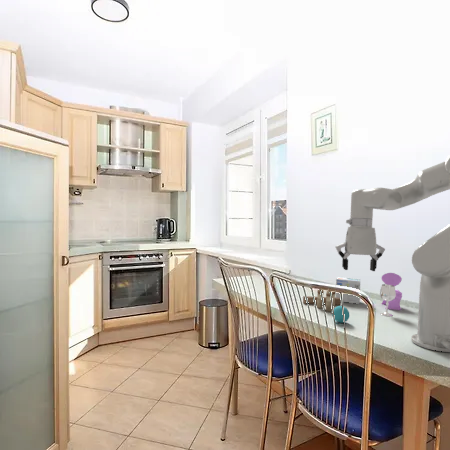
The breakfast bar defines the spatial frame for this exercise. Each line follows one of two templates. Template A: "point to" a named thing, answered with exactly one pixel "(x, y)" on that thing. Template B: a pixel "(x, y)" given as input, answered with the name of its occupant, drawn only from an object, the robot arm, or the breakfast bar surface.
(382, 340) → the breakfast bar surface
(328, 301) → the front pin
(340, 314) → the ball
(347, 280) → the light bulb box
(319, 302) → the rear left pin
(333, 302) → the rear right pin
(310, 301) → the back rail
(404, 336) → the breakfast bar surface
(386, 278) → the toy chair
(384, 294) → the wineglass
